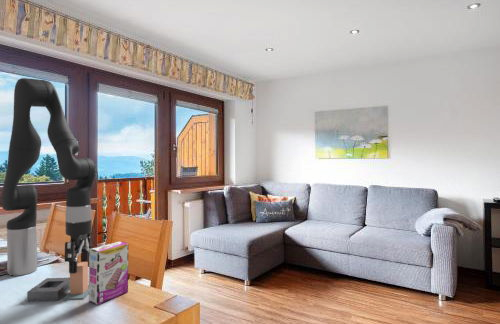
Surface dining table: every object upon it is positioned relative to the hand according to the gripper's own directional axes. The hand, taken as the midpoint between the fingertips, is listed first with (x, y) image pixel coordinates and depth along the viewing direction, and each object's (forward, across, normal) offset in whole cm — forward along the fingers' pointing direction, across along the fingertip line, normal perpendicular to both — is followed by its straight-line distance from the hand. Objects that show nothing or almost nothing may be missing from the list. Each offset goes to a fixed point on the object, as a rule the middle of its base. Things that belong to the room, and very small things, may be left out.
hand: (79, 268), depth 106 cm
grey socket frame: (+8, 0, -8) cm, 12 cm away
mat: (+8, 0, +1) cm, 8 cm away
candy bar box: (+8, +4, +11) cm, 14 cm away
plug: (+8, 0, 0) cm, 8 cm away
